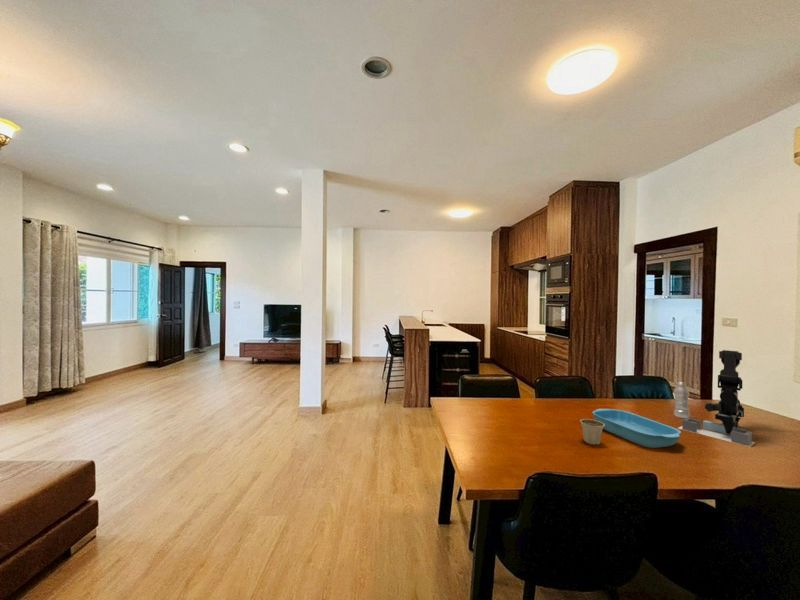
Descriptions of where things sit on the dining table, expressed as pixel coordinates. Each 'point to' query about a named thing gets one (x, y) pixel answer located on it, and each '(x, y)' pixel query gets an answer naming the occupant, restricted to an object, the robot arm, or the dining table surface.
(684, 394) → the plastic bottle
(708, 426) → the slat
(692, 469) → the dining table surface
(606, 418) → the casserole dish
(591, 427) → the flower pot
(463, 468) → the dining table surface
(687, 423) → the cap fixed
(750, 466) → the dining table surface
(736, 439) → the cap sliding
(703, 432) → the board
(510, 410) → the dining table surface
